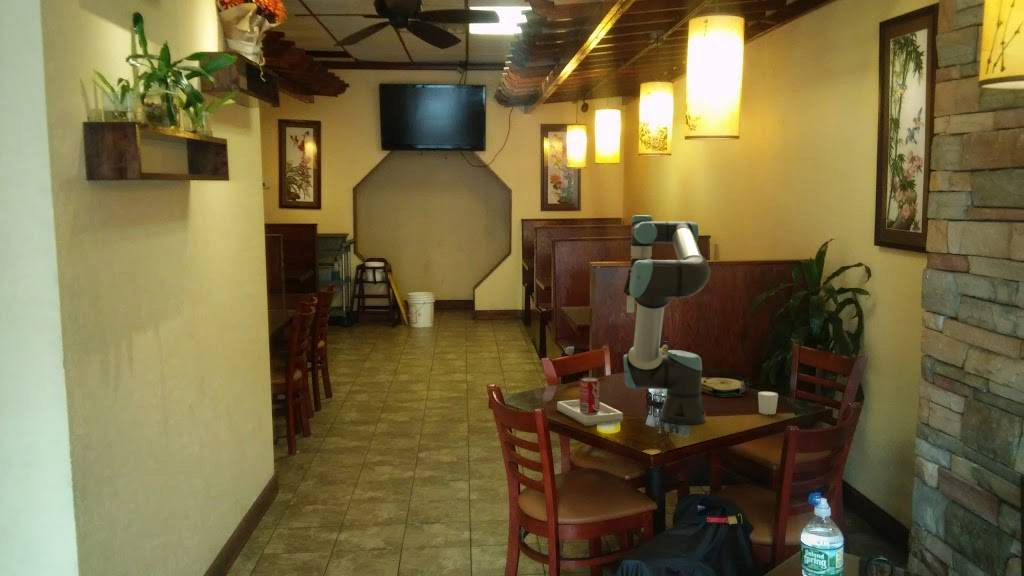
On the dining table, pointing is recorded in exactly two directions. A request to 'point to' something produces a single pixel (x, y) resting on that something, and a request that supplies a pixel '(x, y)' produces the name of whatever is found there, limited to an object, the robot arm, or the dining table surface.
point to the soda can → (589, 396)
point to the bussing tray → (603, 416)
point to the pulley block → (722, 387)
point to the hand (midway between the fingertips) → (640, 315)
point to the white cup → (767, 402)
